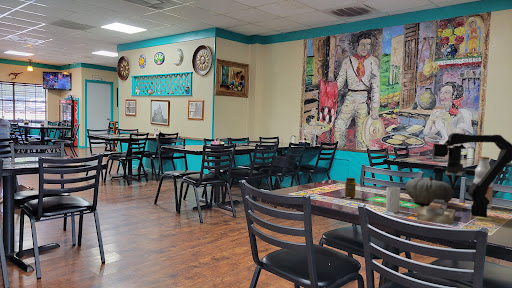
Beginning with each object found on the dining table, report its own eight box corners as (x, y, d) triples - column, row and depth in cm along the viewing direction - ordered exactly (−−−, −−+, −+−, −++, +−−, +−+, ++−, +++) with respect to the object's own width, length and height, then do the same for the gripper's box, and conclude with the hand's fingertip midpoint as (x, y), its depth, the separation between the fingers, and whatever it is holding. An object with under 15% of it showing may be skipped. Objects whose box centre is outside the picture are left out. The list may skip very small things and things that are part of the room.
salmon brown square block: (440, 210, 173) (441, 204, 173) (439, 212, 170) (440, 205, 170) (430, 209, 176) (431, 202, 176) (429, 210, 172) (429, 204, 172)
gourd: (401, 200, 206) (406, 169, 207) (405, 200, 228) (409, 172, 229) (451, 210, 194) (456, 178, 195) (450, 209, 216) (455, 180, 217)
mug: (387, 208, 196) (388, 186, 195) (400, 210, 192) (401, 187, 191) (382, 212, 187) (383, 188, 187) (395, 214, 184) (396, 190, 183)
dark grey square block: (444, 206, 183) (444, 200, 183) (443, 207, 180) (443, 201, 180) (434, 205, 186) (434, 199, 186) (433, 206, 182) (433, 200, 182)
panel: (455, 216, 182) (455, 204, 182) (450, 224, 166) (451, 211, 166) (424, 211, 190) (424, 200, 190) (417, 219, 174) (417, 206, 173)
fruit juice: (495, 208, 202) (498, 157, 201) (480, 208, 201) (483, 157, 199) (482, 204, 212) (485, 156, 210) (467, 205, 210) (470, 156, 209)
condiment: (358, 197, 224) (358, 178, 223) (350, 199, 218) (351, 179, 217) (347, 196, 229) (348, 176, 229) (339, 197, 223) (340, 178, 223)
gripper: (432, 157, 185) (430, 188, 186) (475, 159, 175) (473, 192, 176) (435, 156, 195) (433, 185, 195) (476, 158, 185) (474, 189, 185)
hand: (453, 188), depth 188 cm, fingers closed
